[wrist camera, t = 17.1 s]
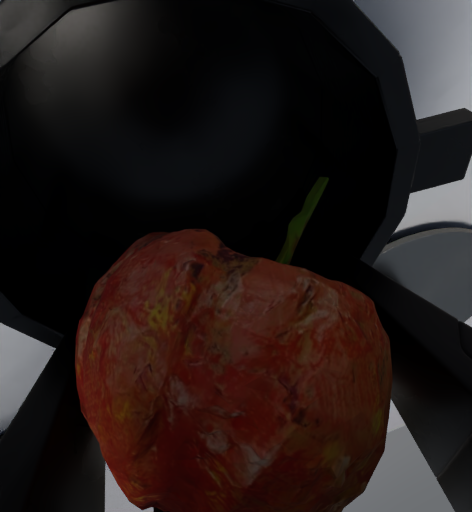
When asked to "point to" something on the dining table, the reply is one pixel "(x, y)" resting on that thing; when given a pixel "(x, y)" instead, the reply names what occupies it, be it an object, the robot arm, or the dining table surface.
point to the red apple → (233, 377)
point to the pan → (199, 138)
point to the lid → (433, 267)
